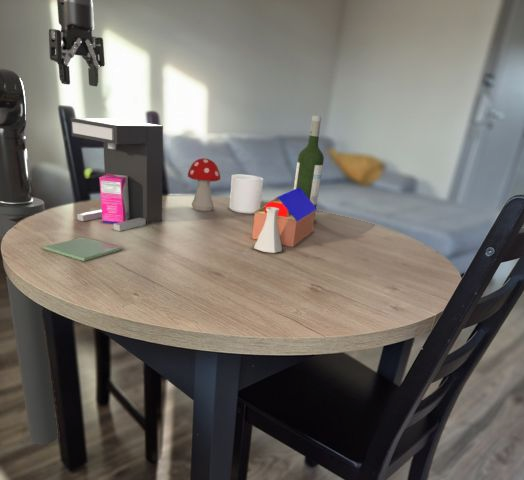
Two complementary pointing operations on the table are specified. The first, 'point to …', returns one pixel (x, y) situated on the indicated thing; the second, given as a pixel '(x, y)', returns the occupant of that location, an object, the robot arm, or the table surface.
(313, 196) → the wine bottle
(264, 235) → the flask
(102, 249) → the plate
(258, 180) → the mug
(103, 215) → the supplement box
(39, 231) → the table surface
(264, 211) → the house
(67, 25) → the robot arm
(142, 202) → the espresso machine
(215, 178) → the decorative mushroom
